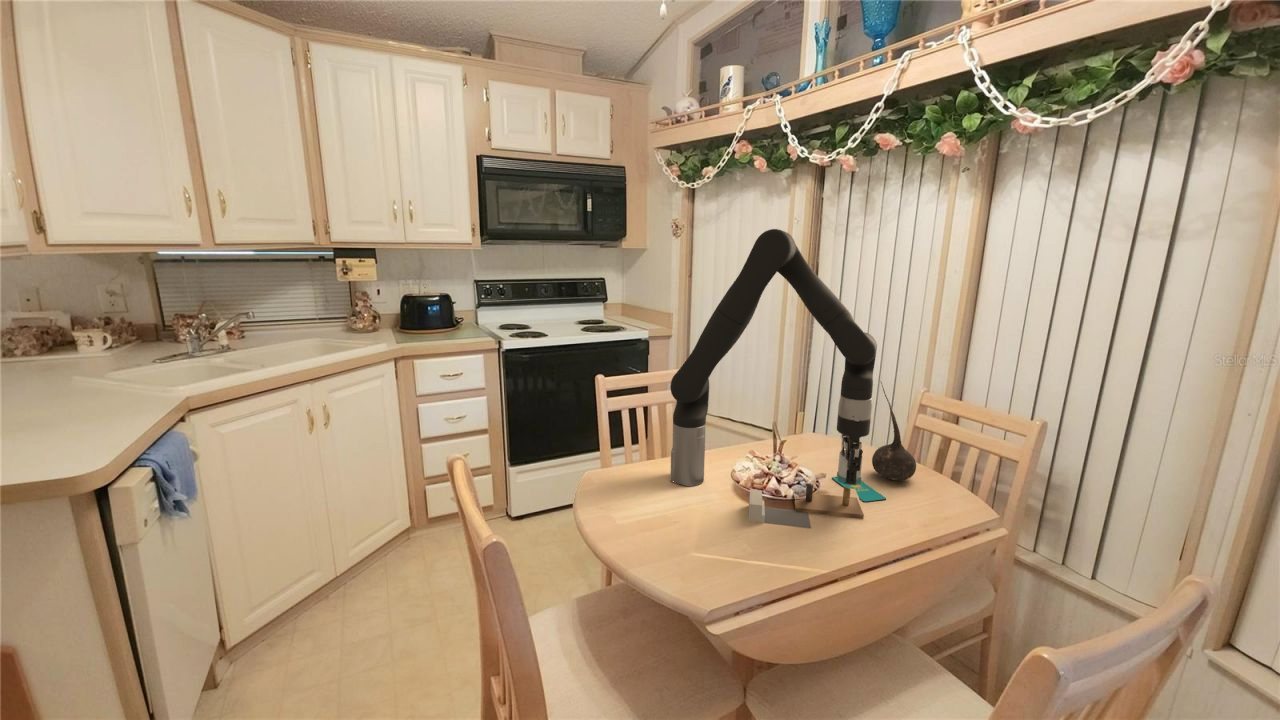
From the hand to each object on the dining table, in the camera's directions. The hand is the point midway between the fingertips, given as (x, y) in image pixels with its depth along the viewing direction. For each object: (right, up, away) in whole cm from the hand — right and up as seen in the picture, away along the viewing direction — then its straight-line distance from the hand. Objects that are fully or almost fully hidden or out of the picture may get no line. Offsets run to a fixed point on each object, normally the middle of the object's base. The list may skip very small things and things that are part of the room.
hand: (848, 478), depth 128 cm
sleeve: (0, -1, 0) cm, 1 cm away
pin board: (-5, -8, +3) cm, 10 cm away
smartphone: (+8, -7, +14) cm, 17 cm away
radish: (+20, -5, +20) cm, 29 cm away
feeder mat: (-18, -9, -2) cm, 21 cm away
